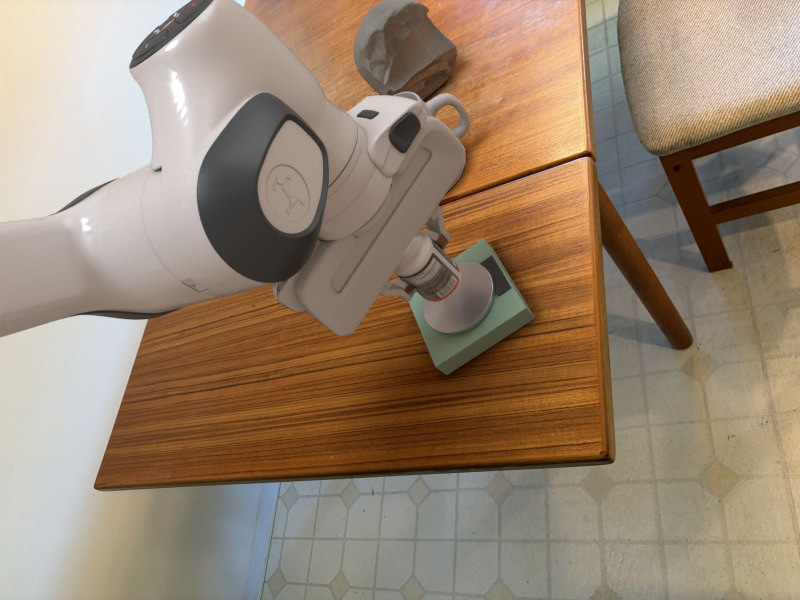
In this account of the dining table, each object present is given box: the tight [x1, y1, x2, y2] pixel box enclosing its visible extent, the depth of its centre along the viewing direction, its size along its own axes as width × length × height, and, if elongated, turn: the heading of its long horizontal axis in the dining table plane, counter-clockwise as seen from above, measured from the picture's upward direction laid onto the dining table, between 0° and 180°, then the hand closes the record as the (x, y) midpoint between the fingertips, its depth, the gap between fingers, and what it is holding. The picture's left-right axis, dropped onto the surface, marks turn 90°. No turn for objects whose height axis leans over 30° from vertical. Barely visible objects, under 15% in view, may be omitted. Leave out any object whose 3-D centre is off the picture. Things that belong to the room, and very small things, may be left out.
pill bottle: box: [393, 231, 461, 302], centre depth 53 cm, size 5×5×8 cm
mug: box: [393, 92, 471, 193], centre depth 70 cm, size 12×8×11 cm
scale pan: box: [422, 262, 495, 335], centre depth 59 cm, size 8×8×1 cm
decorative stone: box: [353, 0, 458, 101], centre depth 81 cm, size 12×17×15 cm
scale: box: [408, 237, 536, 376], centre depth 60 cm, size 11×11×3 cm
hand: (426, 267), depth 54 cm, fingers closed on pill bottle, 5 cm apart
